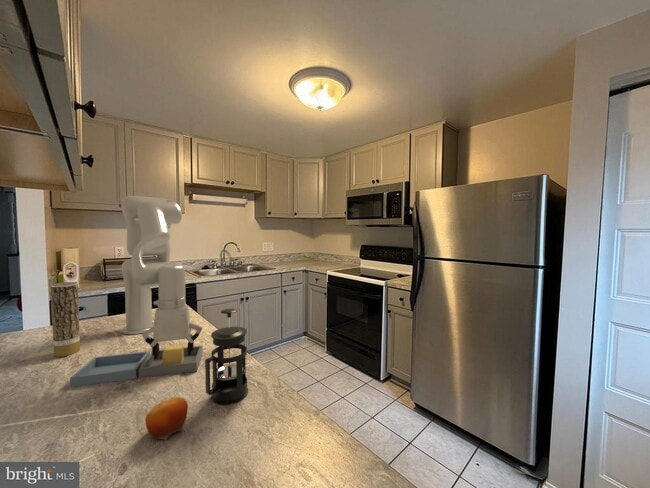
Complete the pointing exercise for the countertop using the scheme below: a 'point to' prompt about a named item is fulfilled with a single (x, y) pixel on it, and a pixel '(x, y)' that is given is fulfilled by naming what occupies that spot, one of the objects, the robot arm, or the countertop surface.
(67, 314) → the paper tube
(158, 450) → the countertop surface
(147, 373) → the charcoal tray
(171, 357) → the ochre block
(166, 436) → the fruit
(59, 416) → the countertop surface
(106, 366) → the slate-blue tray
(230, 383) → the french press
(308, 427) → the countertop surface
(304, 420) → the countertop surface
